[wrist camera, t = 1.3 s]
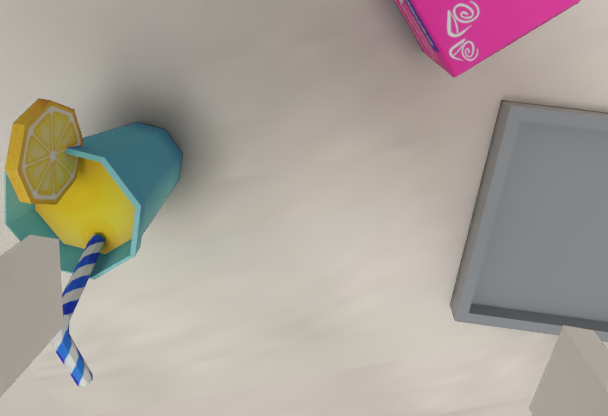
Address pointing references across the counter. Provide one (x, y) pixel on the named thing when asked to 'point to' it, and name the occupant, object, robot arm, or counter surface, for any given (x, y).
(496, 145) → the tray
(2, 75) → the counter surface
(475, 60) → the supplement box
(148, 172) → the cup
